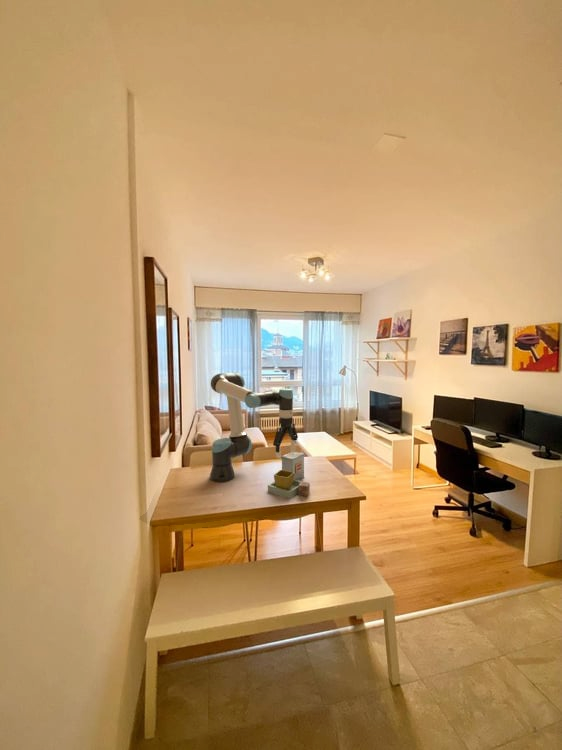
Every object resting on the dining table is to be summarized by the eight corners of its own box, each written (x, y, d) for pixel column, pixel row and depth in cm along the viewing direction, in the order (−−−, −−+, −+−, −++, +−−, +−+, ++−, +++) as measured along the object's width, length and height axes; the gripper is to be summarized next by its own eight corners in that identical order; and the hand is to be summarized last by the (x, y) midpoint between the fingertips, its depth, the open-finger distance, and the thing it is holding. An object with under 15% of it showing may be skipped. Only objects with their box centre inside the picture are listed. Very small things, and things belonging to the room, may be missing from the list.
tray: (267, 491, 170) (267, 485, 169) (283, 482, 181) (283, 476, 181) (289, 498, 161) (289, 492, 160) (305, 488, 172) (305, 482, 172)
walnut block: (298, 496, 163) (298, 485, 163) (300, 492, 168) (300, 481, 168) (307, 497, 162) (307, 486, 162) (309, 493, 167) (309, 482, 166)
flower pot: (273, 490, 168) (273, 474, 167) (280, 484, 175) (280, 469, 175) (288, 494, 164) (287, 477, 163) (294, 487, 172) (294, 472, 171)
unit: (281, 480, 184) (281, 456, 183) (293, 473, 194) (293, 451, 193) (293, 484, 179) (293, 459, 178) (305, 477, 189) (304, 453, 188)
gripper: (277, 421, 156) (277, 462, 158) (304, 414, 176) (303, 450, 178) (266, 419, 161) (266, 459, 162) (293, 412, 181) (293, 447, 182)
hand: (286, 454), depth 170 cm, fingers open, 13 cm apart
